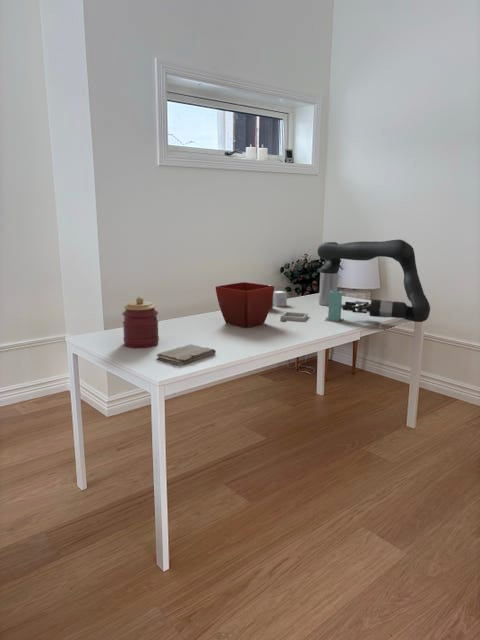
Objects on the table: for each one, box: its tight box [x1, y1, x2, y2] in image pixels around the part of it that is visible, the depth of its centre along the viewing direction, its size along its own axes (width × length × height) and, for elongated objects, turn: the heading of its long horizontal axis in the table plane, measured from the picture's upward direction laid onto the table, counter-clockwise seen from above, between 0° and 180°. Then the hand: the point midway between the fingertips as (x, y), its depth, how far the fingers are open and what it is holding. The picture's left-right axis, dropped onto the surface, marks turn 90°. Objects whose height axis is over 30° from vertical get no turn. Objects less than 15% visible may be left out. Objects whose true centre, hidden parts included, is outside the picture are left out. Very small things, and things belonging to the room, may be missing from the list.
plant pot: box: [214, 281, 275, 328], centre depth 211 cm, size 19×19×17 cm
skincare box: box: [273, 290, 288, 308], centre depth 254 cm, size 6×6×7 cm
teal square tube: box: [327, 290, 343, 322], centre depth 217 cm, size 5×5×13 cm
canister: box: [121, 296, 160, 349], centre depth 177 cm, size 13×13×18 cm
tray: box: [280, 311, 309, 323], centre depth 221 cm, size 11×11×2 cm
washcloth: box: [156, 344, 217, 367], centre depth 163 cm, size 12×18×3 cm, turn 143°
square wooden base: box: [324, 316, 345, 323], centre depth 218 cm, size 8×8×4 cm
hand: (344, 305), depth 216 cm, fingers open, 8 cm apart
